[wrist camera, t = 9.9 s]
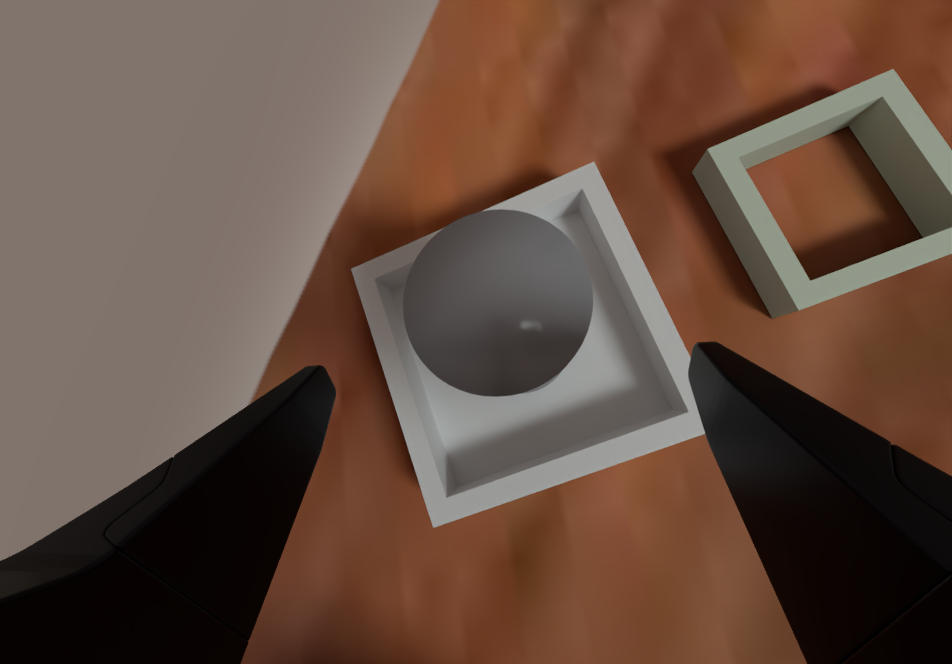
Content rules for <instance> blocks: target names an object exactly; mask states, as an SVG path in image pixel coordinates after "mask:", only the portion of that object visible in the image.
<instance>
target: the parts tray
mask: <svg viewBox="0 0 952 664" xmlns="http://www.w3.org/2000/svg"><path fill="white" fill-rule="evenodd" d="M499 209H505V210H516V211H521V212H525V213H529V214H532V215H535V216H537V217H540V218H542V219H544V220H546V221H548V222H549V223H551V224H552V225H554V226H555V227H557V228H558V229H560V230H561V231H562V232H563V233H564V234H565V235H566V236H567V237H568V238H569V239H570V240H571V241H572V242H573V244H574V245H575V246H576V247H577V249H578V251H579V252H580V254H581V255H582V257H583V259H584V261H585V264H586V266H587V268H588V271H589V275H590V278H591V282H592V289H593V311H592V318H591V322H590V325H589V329H588V332H587V334H586V337H585V339H584V341H583V344H582V345H581V347H580V349H579V350H578V352H577V353H576V355H575V356H574V357H573V359H572V360H571V361H570V362H569V364H568V365H567V366H566V367H565V368H564V369H563V370H562V372H561V373H560V374H559V375H558V377H557V378H556V379H555V380H554V381H553V382H551V383H550V384H549V385H547V386H546V387H544V388H542V389H540V390H537V391H534V392H530V393H522V394H517V395H511V396H500V397H491V396H480V395H475V394H470V393H467V392H464V391H461V390H458V389H456V388H454V387H452V386H450V385H448V384H447V383H445V382H444V381H442V380H441V379H439V378H438V377H437V376H435V375H434V374H433V373H432V372H431V371H430V370H429V369H428V368H427V367H426V366H425V365H424V364H423V362H422V361H421V360H420V358H419V357H418V355H417V354H416V352H415V351H414V349H413V347H412V345H411V342H410V340H409V337H408V334H407V331H406V328H405V323H404V317H403V296H404V290H405V285H406V281H407V278H408V275H409V272H410V269H411V267H412V265H413V263H414V261H415V259H416V258H417V256H418V255H419V253H420V251H421V250H422V249H423V248H424V246H425V245H426V244H427V243H428V241H429V240H430V239H431V238H433V237H434V236H435V235H436V234H437V233H438V232H439V231H441V230H442V229H443V228H442V229H440V230H438V231H436V232H433V233H431V234H429V235H427V236H424V237H422V238H420V239H418V240H415V241H413V242H411V243H408V244H406V245H404V246H402V247H399V248H397V249H395V250H393V251H390V252H388V253H386V254H384V255H381V256H379V257H377V258H374V259H372V260H370V261H368V262H365V263H363V264H361V265H359V266H356V267H354V268H352V269H351V271H352V274H353V277H354V280H355V283H356V286H357V289H358V293H359V296H360V299H361V302H362V305H363V308H364V311H365V315H366V318H367V321H368V324H369V327H370V330H371V334H372V337H373V340H374V343H375V346H376V349H377V352H378V356H379V359H380V362H381V365H382V368H383V371H384V374H385V378H386V381H387V384H388V387H389V390H390V393H391V396H392V400H393V403H394V406H395V409H396V412H397V415H398V418H399V422H400V425H401V428H402V431H403V434H404V437H405V440H406V444H407V447H408V450H409V453H410V456H411V459H412V462H413V466H414V469H415V472H416V475H417V478H418V481H419V484H420V488H421V491H422V494H423V497H424V500H425V503H426V507H427V510H428V513H429V516H430V519H431V522H432V525H433V528H434V527H437V526H440V525H443V524H446V523H449V522H452V521H454V520H457V519H460V518H463V517H466V516H469V515H472V514H475V513H477V512H480V511H483V510H486V509H489V508H492V507H495V506H498V505H501V504H503V503H506V502H509V501H512V500H515V499H518V498H521V497H524V496H527V495H529V494H532V493H535V492H538V491H541V490H544V489H547V488H550V487H553V486H555V485H558V484H561V483H564V482H567V481H570V480H573V479H576V478H578V477H581V476H584V475H587V474H590V473H593V472H596V471H599V470H602V469H604V468H607V467H610V466H613V465H616V464H619V463H622V462H625V461H628V460H630V459H633V458H636V457H639V456H642V455H645V454H648V453H651V452H654V451H656V450H659V449H662V448H665V447H668V446H671V445H674V444H677V443H679V442H682V441H685V440H688V439H691V438H694V437H697V436H700V435H703V434H705V431H704V428H703V425H702V422H701V418H700V415H699V412H698V409H697V405H696V402H695V399H694V396H693V392H692V389H691V386H690V382H689V378H688V369H689V364H690V360H691V358H690V356H689V354H688V352H687V350H686V348H685V346H684V344H683V342H682V340H681V338H680V336H679V334H678V332H677V330H676V328H675V325H674V323H673V321H672V319H671V317H670V315H669V313H668V311H667V309H666V307H665V305H664V303H663V301H662V299H661V297H660V295H659V293H658V291H657V289H656V287H655V285H654V283H653V281H652V279H651V277H650V275H649V273H648V271H647V269H646V266H645V264H644V262H643V260H642V258H641V256H640V254H639V252H638V250H637V248H636V246H635V244H634V242H633V240H632V238H631V236H630V234H629V232H628V230H627V228H626V226H625V224H624V222H623V220H622V218H621V216H620V214H619V212H618V210H617V207H616V205H615V203H614V201H613V199H612V197H611V195H610V193H609V191H608V189H607V187H606V185H605V183H604V181H603V179H602V177H601V175H600V173H599V171H598V169H597V167H596V165H595V163H594V162H592V163H590V164H587V165H585V166H583V167H581V168H578V169H576V170H574V171H572V172H569V173H567V174H565V175H563V176H560V177H558V178H556V179H554V180H551V181H549V182H547V183H544V184H542V185H540V186H538V187H535V188H533V189H531V190H529V191H526V192H524V193H522V194H520V195H517V196H515V197H513V198H510V199H508V200H506V201H504V202H501V203H499V204H497V205H495V206H492V207H490V208H488V209H486V210H483V211H487V210H499Z"/></svg>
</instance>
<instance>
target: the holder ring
mask: <svg viewBox="0 0 952 664" xmlns="http://www.w3.org/2000/svg"><path fill="white" fill-rule="evenodd" d="M847 126H849V127H850V129H851V130H852V132H853V133H854V135H855V136H856V138H857V139H858V141H859V142H860V144H861V145H862V147H863V148H864V150H865V151H866V153H867V154H868V156H869V157H870V159H871V160H872V162H873V163H874V165H875V166H876V168H877V169H878V171H879V172H880V174H881V175H882V177H883V178H884V180H885V181H886V183H887V184H888V186H889V187H890V189H891V191H892V192H893V194H894V195H895V197H896V198H897V200H898V201H899V203H900V204H901V206H902V207H903V209H904V210H905V212H906V213H907V215H908V216H909V218H910V219H911V221H912V222H913V224H914V225H915V227H916V228H917V230H918V231H919V233H920V234H921V236H922V237H923V238H922V239H919V240H917V241H914V242H912V243H909V244H906V245H904V246H901V247H898V248H896V249H893V250H890V251H888V252H885V253H883V254H880V255H877V256H875V257H872V258H869V259H867V260H864V261H861V262H859V263H856V264H854V265H851V266H848V267H846V268H843V269H840V270H838V271H835V272H833V273H830V274H827V275H825V276H822V277H819V278H817V279H814V280H811V281H810V279H809V278H808V276H807V274H806V273H805V271H804V269H803V267H802V266H801V264H800V262H799V261H798V259H797V257H796V255H795V254H794V252H793V250H792V249H791V247H790V245H789V243H788V242H787V240H786V238H785V237H784V235H783V233H782V231H781V230H780V228H779V226H778V225H777V223H776V221H775V219H774V218H773V216H772V214H771V213H770V211H769V209H768V207H767V206H766V204H765V202H764V201H763V199H762V197H761V195H760V194H759V192H758V190H757V189H756V187H755V185H754V183H753V182H752V180H751V178H750V177H749V175H748V173H747V171H746V170H745V169H747V168H750V167H752V166H754V165H757V164H759V163H761V162H764V161H766V160H769V159H771V158H773V157H776V156H778V155H781V154H783V153H785V152H788V151H790V150H792V149H795V148H797V147H800V146H802V145H804V144H807V143H809V142H811V141H814V140H816V139H819V138H821V137H823V136H826V135H828V134H831V133H833V132H835V131H838V130H840V129H842V128H845V127H847ZM692 173H693V175H694V177H695V179H696V181H697V182H698V184H699V186H700V188H701V190H702V191H703V193H704V195H705V197H706V199H707V201H708V202H709V204H710V206H711V208H712V210H713V211H714V213H715V215H716V217H717V219H718V221H719V222H720V224H721V226H722V228H723V230H724V232H725V233H726V235H727V237H728V239H729V241H730V242H731V244H732V246H733V248H734V250H735V252H736V253H737V255H738V257H739V259H740V261H741V262H742V264H743V266H744V268H745V270H746V272H747V273H748V275H749V277H750V279H751V281H752V283H753V284H754V286H755V288H756V290H757V292H758V293H759V295H760V297H761V299H762V301H763V303H764V304H765V306H766V308H767V310H768V312H769V313H770V315H771V317H772V319H773V318H776V317H779V316H783V315H786V314H789V313H792V312H795V311H799V310H801V309H804V308H807V307H809V306H812V305H815V304H817V303H820V302H823V301H825V300H828V299H831V298H834V297H836V296H839V295H842V294H844V293H847V292H850V291H852V290H855V289H858V288H860V287H863V286H866V285H868V284H871V283H874V282H876V281H879V280H882V279H885V278H887V277H890V276H893V275H895V274H898V273H901V272H903V271H906V270H909V269H911V268H914V267H917V266H919V265H922V264H925V263H927V262H930V261H933V260H936V259H938V258H941V257H944V256H946V255H949V254H952V150H951V148H950V147H949V146H948V144H947V143H946V141H945V140H944V139H943V137H942V136H941V135H940V133H939V132H938V130H937V129H936V128H935V126H934V125H933V123H932V122H931V121H930V119H929V118H928V116H927V115H926V114H925V112H924V111H923V110H922V108H921V107H920V105H919V104H918V103H917V101H916V100H915V98H914V97H913V96H912V94H911V93H910V92H909V90H908V89H907V87H906V86H905V85H904V83H903V82H902V80H901V79H900V78H899V76H898V75H897V73H896V72H895V71H894V69H892V70H890V71H887V72H885V73H883V74H880V75H878V76H876V77H873V78H871V79H869V80H867V81H864V82H862V83H860V84H857V85H855V86H853V87H850V88H848V89H846V90H843V91H841V92H839V93H836V94H834V95H832V96H829V97H827V98H825V99H822V100H820V101H818V102H815V103H813V104H811V105H808V106H806V107H804V108H801V109H799V110H797V111H794V112H792V113H790V114H788V115H785V116H783V117H781V118H778V119H776V120H774V121H771V122H769V123H767V124H764V125H762V126H760V127H757V128H755V129H753V130H750V131H748V132H746V133H743V134H741V135H739V136H736V137H734V138H732V139H729V140H727V141H725V142H722V143H720V144H718V145H715V146H713V147H711V148H708V149H707V150H706V152H705V153H704V155H703V156H702V158H701V159H700V161H699V162H698V164H697V165H696V167H695V168H694V170H693V171H692Z"/></svg>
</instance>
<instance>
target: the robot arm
mask: <svg viewBox="0 0 952 664" xmlns="http://www.w3.org/2000/svg"><path fill="white" fill-rule="evenodd" d="M688 378H689V382H690V386H691V389H692V392H693V396H694V399H695V402H696V405H697V409H698V412H699V415H700V418H701V422H702V425H703V428H704V431H705V434H706V437H707V440H708V443H709V445H710V448H711V450H712V452H713V454H714V457H715V459H716V461H717V463H718V466H719V468H720V470H721V472H722V475H723V477H724V479H725V481H726V483H727V486H728V488H729V490H730V492H731V495H732V497H733V499H734V501H735V504H736V506H737V508H738V510H739V513H740V515H741V517H742V519H743V521H744V524H745V526H746V528H747V530H748V533H749V535H750V537H751V539H752V542H753V544H754V546H755V548H756V550H757V553H758V555H759V557H760V559H761V562H762V564H763V566H764V568H765V571H766V573H767V575H768V577H769V580H770V582H771V584H772V586H773V588H774V591H775V593H776V595H777V597H778V600H779V602H780V604H781V606H782V609H783V611H784V613H785V615H786V617H787V620H788V622H789V624H790V626H791V629H792V631H793V633H794V635H795V638H796V640H797V642H798V644H799V647H800V649H801V651H802V653H803V655H804V658H805V660H806V662H807V664H952V476H950V475H948V474H947V473H945V472H943V471H941V470H940V469H938V468H936V467H934V466H932V465H931V464H929V463H927V462H925V461H923V460H922V459H920V458H918V457H916V456H915V455H913V454H911V453H909V452H908V451H906V450H904V449H902V448H901V447H899V446H897V445H891V442H890V441H888V440H886V439H885V438H883V437H881V436H880V435H878V434H876V433H874V432H873V431H871V430H869V429H867V428H866V427H864V426H862V425H860V424H859V423H857V422H855V421H853V420H852V419H850V418H848V417H847V416H845V415H843V414H841V413H840V412H838V411H836V410H834V409H833V408H831V407H829V406H827V405H826V404H824V403H822V402H820V401H819V400H817V399H815V398H813V397H812V396H810V395H808V394H807V393H805V392H803V391H801V390H800V389H798V388H796V387H794V386H793V385H791V384H789V383H787V382H786V381H784V380H782V379H780V378H779V377H777V376H775V375H774V374H772V373H770V372H768V371H767V370H765V369H763V368H761V367H760V366H758V365H756V364H754V363H753V362H751V361H749V360H747V359H746V358H744V357H742V356H740V355H739V354H737V353H735V352H734V351H732V350H730V349H728V348H727V347H725V346H723V345H721V344H720V343H718V342H698V343H696V344H695V345H694V347H693V350H692V355H691V360H690V364H689V369H688ZM335 397H336V390H335V387H334V385H333V383H332V381H331V379H330V377H329V375H328V373H327V371H326V369H325V368H324V367H323V366H321V365H317V366H307V367H305V368H303V369H302V370H300V371H299V372H297V373H296V374H294V375H293V376H291V377H290V378H288V379H287V380H286V381H284V382H283V383H281V384H280V385H278V386H277V387H275V388H274V389H272V390H271V391H269V392H268V393H266V394H265V395H263V396H262V397H260V398H259V399H257V400H256V401H254V402H253V403H251V404H250V405H248V406H247V407H245V408H244V409H242V410H241V411H239V412H238V413H237V414H235V415H234V416H232V417H231V418H229V419H228V420H226V421H225V422H223V423H222V424H220V425H219V426H217V427H216V428H214V429H213V430H211V431H210V432H208V433H207V434H205V435H204V436H202V437H201V438H199V439H198V440H196V441H195V442H193V443H192V444H191V445H189V446H188V447H186V448H185V449H183V450H182V451H180V452H179V453H177V454H176V455H175V456H174V458H173V457H172V458H170V459H168V460H167V461H165V462H164V463H162V464H161V465H159V466H158V467H156V468H155V469H153V470H152V471H150V472H149V473H147V474H146V475H144V476H143V477H141V478H140V479H138V480H137V481H135V482H133V483H132V484H131V485H129V486H128V487H126V488H124V489H123V490H121V491H119V492H118V493H116V494H114V495H113V496H111V497H110V498H108V499H107V500H105V501H103V502H102V503H100V504H98V505H97V506H95V507H93V508H92V509H90V510H89V511H87V512H85V513H84V514H82V515H80V516H79V517H77V518H75V519H74V520H72V521H70V522H69V523H67V524H66V525H64V526H62V527H61V528H59V529H57V530H56V531H54V532H52V533H51V534H49V535H47V536H46V537H44V538H43V539H41V540H39V541H38V542H36V543H34V544H33V545H31V546H29V547H27V548H26V549H24V550H23V551H20V552H19V553H17V554H15V555H12V556H10V557H8V558H6V559H4V560H2V561H0V664H241V661H242V658H243V656H244V653H245V650H246V648H247V645H248V640H249V639H250V637H251V634H252V631H253V629H254V626H255V623H256V621H257V618H258V616H259V613H260V610H261V608H262V605H263V602H264V600H265V597H266V594H267V592H268V589H269V587H270V584H271V581H272V579H273V576H274V573H275V571H276V568H277V566H278V563H279V560H280V558H281V555H282V552H283V550H284V547H285V544H286V542H287V539H288V537H289V534H290V531H291V529H292V526H293V523H294V521H295V518H296V515H297V513H298V510H299V508H300V505H301V502H302V500H303V497H304V494H305V492H306V489H307V487H308V484H309V481H310V479H311V476H312V473H313V471H314V468H315V465H316V463H317V460H318V458H319V455H320V452H321V449H322V446H323V442H324V439H325V435H326V431H327V428H328V424H329V420H330V416H331V412H332V409H333V405H334V401H335Z"/></svg>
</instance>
